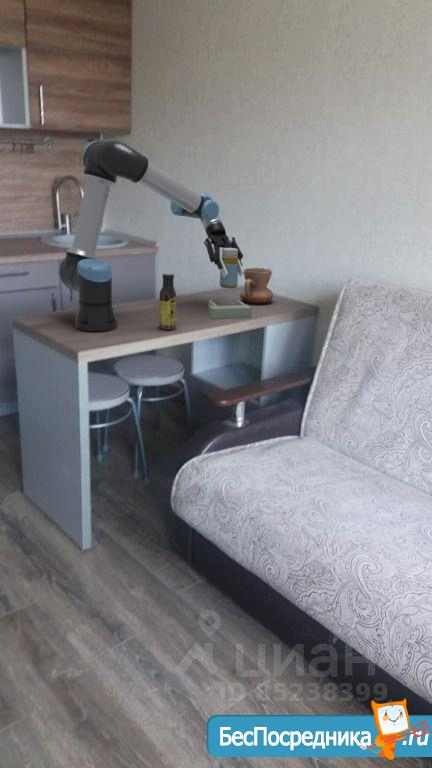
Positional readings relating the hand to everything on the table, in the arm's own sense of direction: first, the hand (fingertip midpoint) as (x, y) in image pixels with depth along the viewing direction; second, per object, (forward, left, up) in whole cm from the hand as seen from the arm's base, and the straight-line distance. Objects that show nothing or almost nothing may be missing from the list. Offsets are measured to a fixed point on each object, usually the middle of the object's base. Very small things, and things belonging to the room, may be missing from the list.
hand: (233, 274), depth 237 cm
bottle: (-1, +3, -6) cm, 7 cm away
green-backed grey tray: (-2, +2, -16) cm, 16 cm away
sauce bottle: (-30, -16, -16) cm, 38 cm away
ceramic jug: (+17, +20, -16) cm, 31 cm away
